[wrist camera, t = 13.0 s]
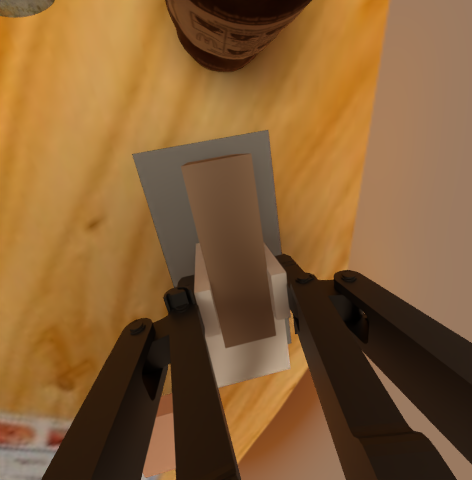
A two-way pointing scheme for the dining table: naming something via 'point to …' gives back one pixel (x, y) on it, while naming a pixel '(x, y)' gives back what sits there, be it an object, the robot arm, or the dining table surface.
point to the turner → (235, 269)
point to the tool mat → (177, 202)
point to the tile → (161, 440)
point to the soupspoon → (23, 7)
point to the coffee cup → (230, 28)
